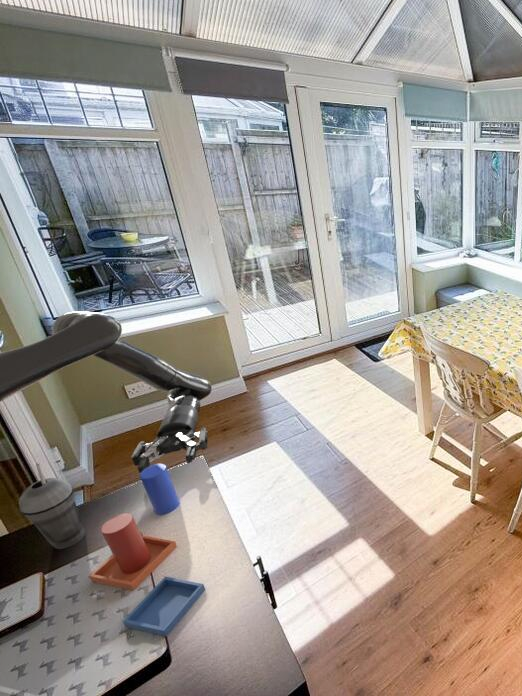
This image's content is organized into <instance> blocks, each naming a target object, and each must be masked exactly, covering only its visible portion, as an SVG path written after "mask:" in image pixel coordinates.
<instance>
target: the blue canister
mask: <svg viewBox="0 0 522 696" xmlns="http://www.w3.org/2000/svg"><path fill="white" fill-rule="evenodd" d="M139 478H140V480H141V483H142V485H143V487H144V490H145V493H146V494H147V497H148V499H149V501H150V504H151V506H152V509H153V511H154V513H155V515H157V516H164V515H167V514H170V513H171V512H173V511H175V510H176V509H177V508H178V507H179V505H180V503H181V502H180V499H179V497H178V494H177V491H176V489H175V486H174V484H173V481H172V478H171V475H170V473H169V470H168V467H167V465H166V464H165V463H155V464H150V465H149V467H147V468H146V469H144V470H143V471H142V472H141V473H139Z"/></svg>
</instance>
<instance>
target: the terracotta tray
mask: <svg viewBox="0 0 522 696" xmlns="http://www.w3.org/2000/svg"><path fill="white" fill-rule="evenodd" d="M141 536H142V538H143V540H144V542H145V544H146V546H147V549H148V551H149V553H150V555H151V558H150V561H149V562H148V564H147V565H146V566H145V567H143V568H142V569H140V570H139V571H137V572H134V573H131V574H124V573H122V571H121V569H120V567H119V565H118V563H117V561H116V559H115V557H114V556H113V554H112V555H111V556H110V557H109V558H108V559H106V560H105V562H103V563H102V564H101V565H100V566H99V567H98V568H97V569H96V570H94V571H93V572H92V573H91V574H90V575H88V576H89V578H90V581H91V582H92V583H96V584H100V585H101V584H102V585H105V586H111V587H115V588H119V589H125V590H129V591H135V590H136V589H137V588H138V587H139V586H140V585H141V584H142V583H143V582H144V581H145V580H146V579H147V578H148V577H149V576H150V575H151V574H152V573H153V572H154V571H155V570H156V569H157V568H158V567H159V566H160V565H161V564H162V563H163V562H164V560H166V559H167V557H169V556H170V555H171V554H172V553H173V551H174V550H176V549H177V548H178V545H177V543H176V541H174V540H169V539H163V538H159V537H154V536H148V535H144V534H141Z"/></svg>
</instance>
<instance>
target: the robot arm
mask: <svg viewBox="0 0 522 696" xmlns="http://www.w3.org/2000/svg"><path fill="white" fill-rule="evenodd" d="M122 332H123V327H122V324H121V322H120V321H119V320H118V319H117V318H115V317H113V316H111V315H109V314H105V313H102V312H94V311H86V310H81V311H79V310H78V311H70V312H66V313H63V314H62V315H60V316H59V317H57V318H56V319H55V321H54V322H53V324H52V327H51V334H52V335H50V336H48V337H46V338H43V339H42V340H38V341H36V342H34V343H30V344H29V345H28V344H27V345H23V346H20V347H18V348H13V349H9V350H5V351H1V352H0V403H1V402H3V401H5V400H6V399H8V398H10V397H12V396H13V395H15V394H17V393H19V392H21V391H23V390H26V388H28V387H31V386H33V385H34V384H37V383H38V382H40V381H42V380H43V379H45V378H47V377H49V376H50V375H52V374H55V373H57V372H58V371H60V370H62V369H64V368H66V367H68V366H70V365H73V364H75V363H77V362H80V361H83V360H84V359H87V358H89V357H91V356H92V357H95V358H97V359H99V360H102V361H104V362H105V363H108V364H110V365H112V366H114V367H116V368H118V369H120V370H121V371H123V372H125V373H127V374H128V375H130V376H131V377H133V378H135V379H137V380H139V381H141V382H143V383H144V384H146V385H148V386H150V387H151V388H153V389H155V390H157V391H159V392H164V393H165V392H167V394H166V400H167V405H168V409H167V410H166V411H167V412H166V414H165V415H164V416H163V419H162V421H161V424H160V426H159V429H158V431H157V433H156V439H154V440H153V441H152V442H148V443H146V441H144V440H143V441H142V440H141V441H140V442H138V444H137V446H136V448H135V449H134V451H133V453H132V454H131V456H130V457H131V460H132V463H133V464H134V466H136V468H137V470H138V472H139V474H140V473H141V472H142V471H143V470H144V469H146V468H147V467H149V466H151V463H152V462H153V461H155V460H159V459H160V458H162V457H163V456H165V455H167V454H170V453H174V452H180V451H182V450H183V451H186V453H185V460H186V463H187V464H191V463H192V462H193V461H194V460H195V459H196V457H197V453H198V452H199V451H200V450H203V451H204V450H206V449H207V448H208V443H209V433H208V430H207V428H206V427H202V428H201V429H200V430H199V431H197V432H196V429H197V426H198V424H199V415H200V412H201V411H200V410H201V402H200V401H202V400H203V399H205V398H207V397H209V396H210V395H211V393H212V390H213V388H212V384H211V382H210V381H209V380H208V379H207V378H205V377H204V376H202V375H200V374H197V373H193V372H189V371H186V370H183V369H179V368H177V367H176V366H174V365H172V364H171V363H169V362H167V361H166V360H164V359H162V358H160V357H159V356H157V355H155V354H153V353H150V352H148V351H146V350H143V349H141V348H139V347H137V346H134V345H133V344H130V343H129V342H127V341H125V340H123V339H121V336H122ZM196 439H197V440H198V441H197V442H195V440H196ZM149 456H150V457H149Z"/></svg>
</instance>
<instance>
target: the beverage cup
mask: <svg viewBox="0 0 522 696" xmlns="http://www.w3.org/2000/svg"><path fill="white" fill-rule="evenodd" d="M35 467H36V470H37V473H38V476H39V479H40V480H38V481H35V482H33V483H32V484H30V485H29V486H28V487H26V489H25V490H23V492H22V494H21V495H20V498H19V499H18V504H19V505H18V506H19V511H20V514H22V515H23V516H24V517H25V518H27V519H28V520H30V521H31V523H32V524H33V525H34V526H35V527H36V529H37V530H38V531H39V532H40V534H41V535H42V536H43V537H44V538H45V540H47V542H48V543H49V544H50V546H52V547H53V548H54V549H56V550H63V549H64V550H65V549H67V548H70V547H72V546H74V545H76V544H77V543H79V542H80V541H81V540H82V539H83V538H84V536H85V533H86V532H85V531H86V530H85V527H84V524H83V521H82V518H81V515H80V512H79V508H78V506H77V503H76V498H75V497H76V496H75V488H74V487H73V486H72V485H71V484H70V483H69V482H68V481H66V480H64V479H62V478H57V477H50V478H45V476H44V473H43V470H42V466H41V463H35Z"/></svg>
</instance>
